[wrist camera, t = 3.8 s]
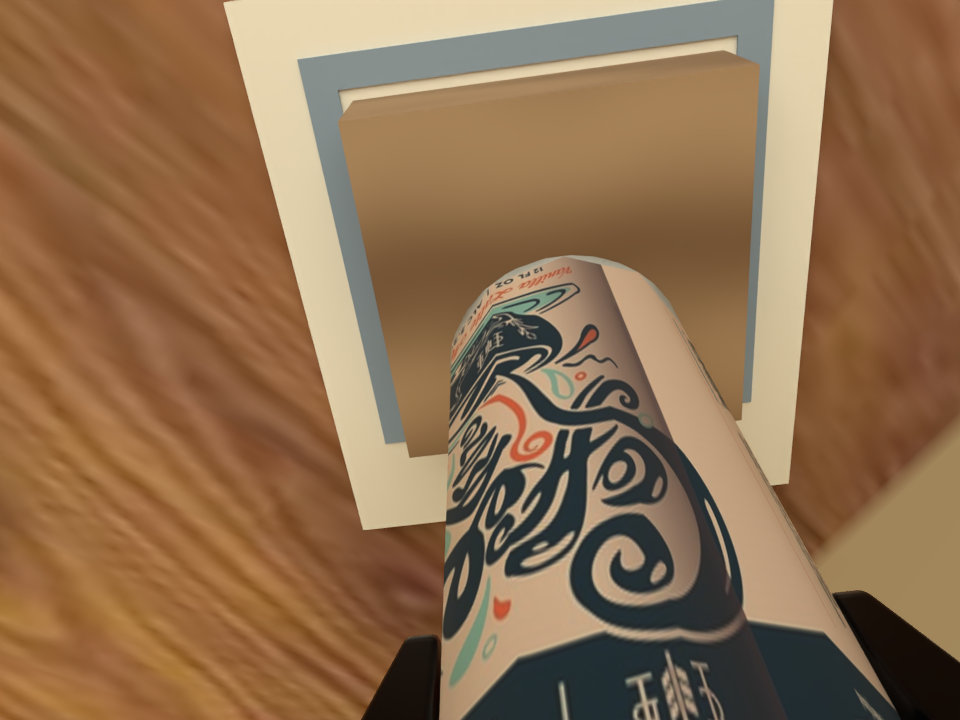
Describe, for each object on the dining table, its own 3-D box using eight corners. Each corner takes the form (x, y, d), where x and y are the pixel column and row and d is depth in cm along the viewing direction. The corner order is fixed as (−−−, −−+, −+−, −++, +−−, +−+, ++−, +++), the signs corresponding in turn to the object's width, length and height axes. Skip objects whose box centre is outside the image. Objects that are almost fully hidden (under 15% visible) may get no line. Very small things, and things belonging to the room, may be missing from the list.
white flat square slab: (781, 472, 25) (789, 485, 24) (365, 518, 25) (363, 532, 25) (829, -86, 17) (843, -86, 16) (230, 1, 18) (221, 3, 17)
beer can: (531, 200, 14) (718, 951, 4) (725, 316, 15) (1277, 1120, 5) (409, 386, 16) (306, 1219, 6) (590, 476, 17) (779, 1291, 7)
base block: (714, 373, 22) (741, 420, 20) (414, 408, 23) (409, 457, 20) (723, 50, 18) (760, 64, 16) (353, 100, 18) (337, 121, 16)
